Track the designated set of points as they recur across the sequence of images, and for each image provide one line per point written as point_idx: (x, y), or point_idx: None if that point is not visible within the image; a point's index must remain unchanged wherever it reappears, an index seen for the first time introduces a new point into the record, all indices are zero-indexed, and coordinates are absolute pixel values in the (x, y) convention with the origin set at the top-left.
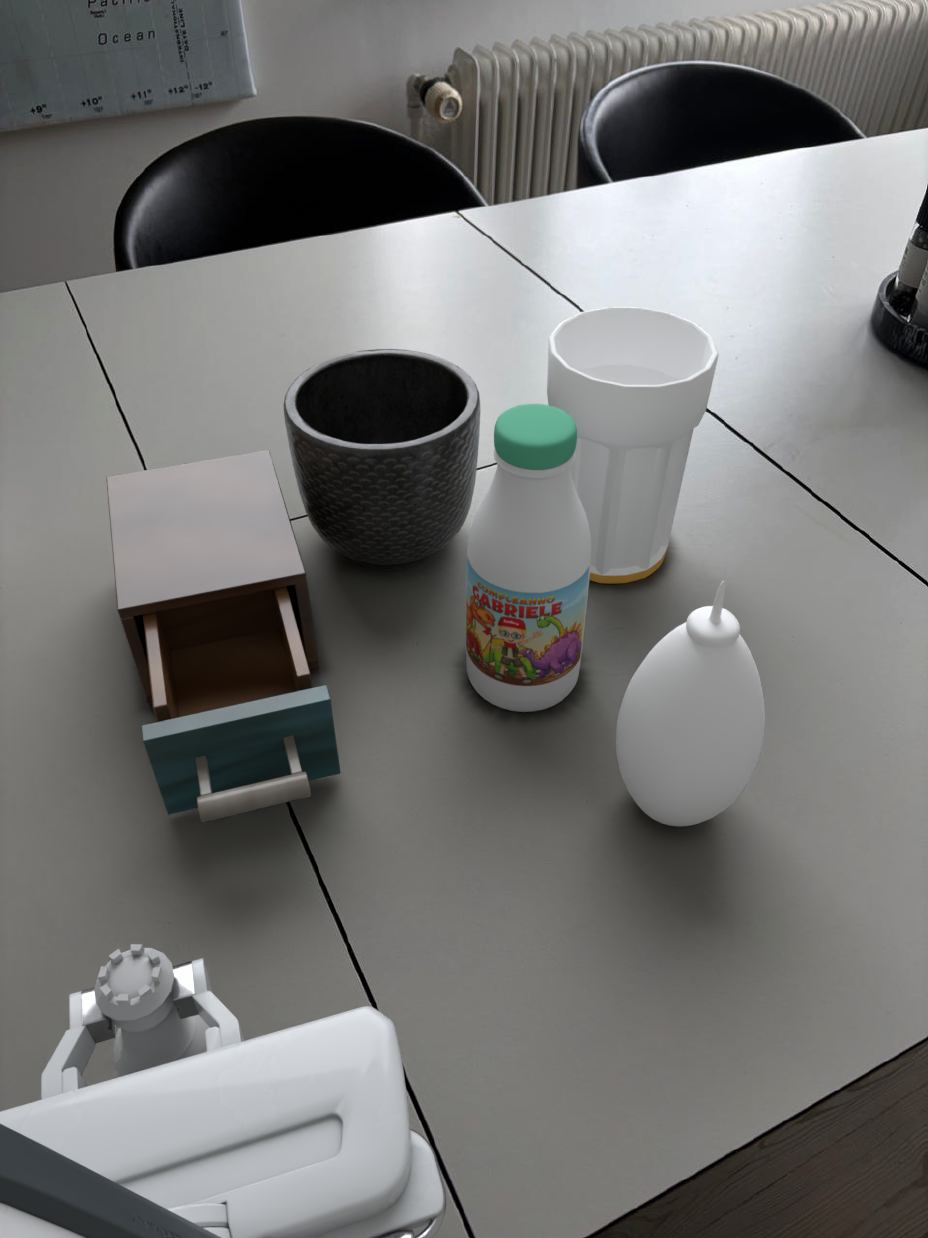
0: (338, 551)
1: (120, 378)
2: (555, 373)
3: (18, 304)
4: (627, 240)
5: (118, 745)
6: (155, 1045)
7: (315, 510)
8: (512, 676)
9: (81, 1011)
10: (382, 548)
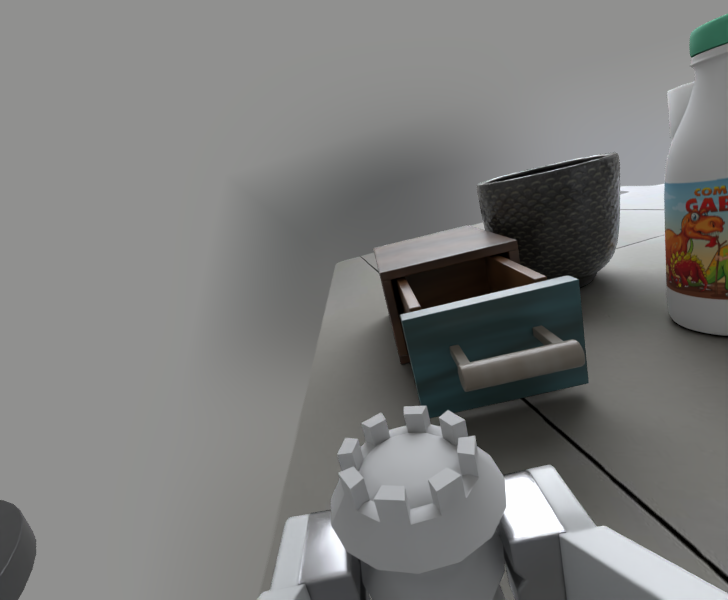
0: None
1: None
2: (686, 97)
3: (339, 262)
4: (633, 193)
5: (380, 386)
6: None
7: None
8: None
9: (303, 551)
10: (560, 259)
